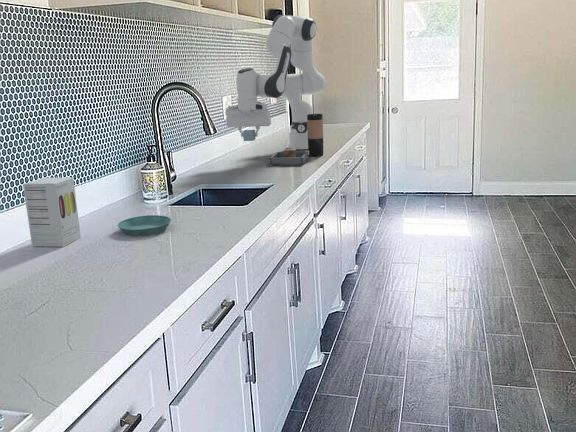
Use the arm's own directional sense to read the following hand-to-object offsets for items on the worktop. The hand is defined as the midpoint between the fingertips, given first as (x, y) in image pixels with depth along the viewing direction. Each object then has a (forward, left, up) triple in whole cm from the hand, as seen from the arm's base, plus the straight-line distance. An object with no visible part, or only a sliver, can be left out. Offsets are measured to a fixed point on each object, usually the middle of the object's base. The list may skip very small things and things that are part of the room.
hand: (249, 136), depth 266 cm
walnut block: (-8, +17, -12) cm, 23 cm away
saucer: (+110, -6, -13) cm, 111 cm away
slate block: (0, 0, -2) cm, 2 cm away
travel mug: (-24, +27, -13) cm, 38 cm away
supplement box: (+122, -26, -13) cm, 126 cm away
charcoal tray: (-5, +17, -13) cm, 22 cm away
